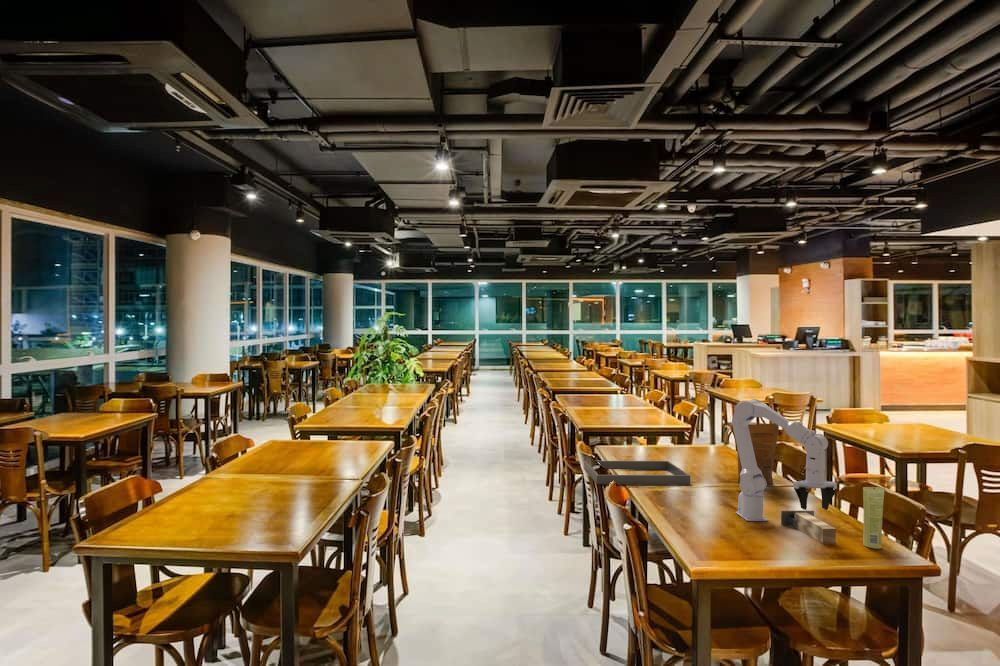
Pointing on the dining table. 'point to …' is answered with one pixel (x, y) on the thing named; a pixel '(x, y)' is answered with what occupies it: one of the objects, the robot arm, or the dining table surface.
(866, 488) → the tube
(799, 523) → the rail
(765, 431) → the pancake mix bag
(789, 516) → the bracket
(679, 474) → the paper frame
